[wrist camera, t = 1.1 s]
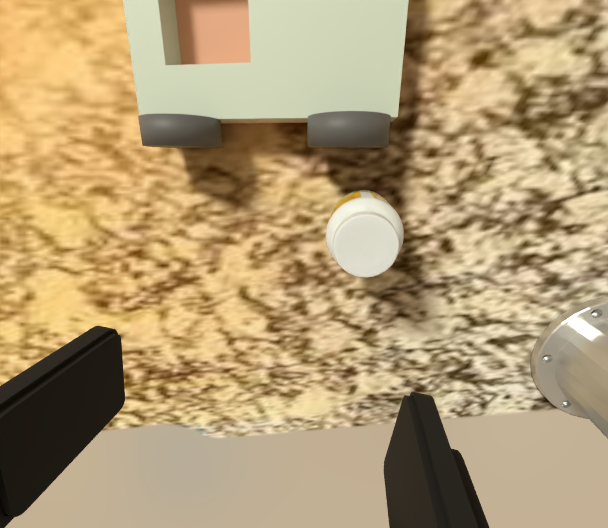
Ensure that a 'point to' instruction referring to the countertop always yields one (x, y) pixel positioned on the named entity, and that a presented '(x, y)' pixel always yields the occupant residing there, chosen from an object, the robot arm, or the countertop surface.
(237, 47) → the chassis
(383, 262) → the supplement bottle
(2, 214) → the countertop surface
